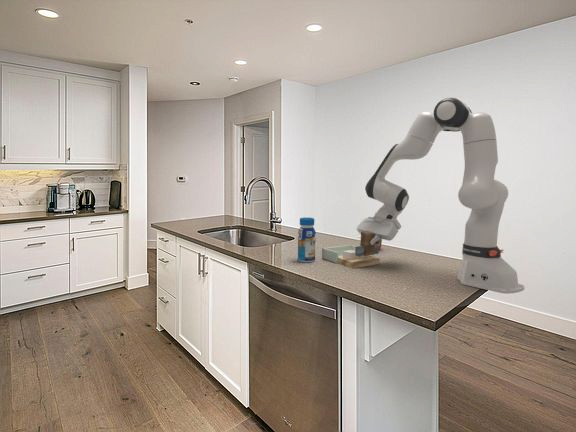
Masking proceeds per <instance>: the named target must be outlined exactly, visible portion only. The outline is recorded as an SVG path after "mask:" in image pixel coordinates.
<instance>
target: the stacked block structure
mask: <svg viewBox="0 0 576 432" xmlns="http://www.w3.org/2000/svg"><path fill="white" fill-rule="evenodd" d="M374 237H375V234H374V233H373V232H368V231H367V232H361V234H360V242H359V243H360V245H358V246H357V245H355V246H356V249H355V256H375V255H377V254H379V251H380V250H379V245H377V244H375V243H374V244H373V245H371V244H369V241H370V239H373V238H374Z"/></svg>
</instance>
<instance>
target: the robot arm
mask: <svg viewBox="0 0 576 432" xmlns="http://www.w3.org/2000/svg"><path fill="white" fill-rule="evenodd" d="M492 118H493V117H492V116H491V115H490V114H488V113H486V112H474V113H473V112H472V110H471V109H470V107H469V106H467V104H466V103H465V102H463V101H462V100H460V99H458V98H456V97H446V98H443V99H441V100H440V101H439V102H437V103H436V105H435V107H434V109H433V112H432V111H429V110H427V111H421V112H420V113H419V114H418V115H417V117H416V118H415V119H414V121H413V122H412V124H411V125H410V128H409V130H408V132H407V134H406V136H405V137H404V139H403V140H402V141H401V142H399V143H395V144H394V145H393V146H392V147H391V148H390V150H389V151H388V152H387V154H386V155H385V157H384V158H383V160H382V161H381V163H380V164H379V166H378V168H377V169H376V171H375V172H374V174H373V175H371V177H370V179H369V180H368V181H367V183H366V185H365V189H364V190H365V193H366V196H367V197H368V198H370V199H373V200H376V201H378V202H381V203H382V206H381V207H379V209H378V210H377V211H376V212H375V213H376V214H375V213H374V215H373V217H372V216H369V217H366V218H364V219H363V220H362V221H360V223H359V224H358V225H357V226H356V230H357V232H358V234H360V235H361V232H367V231H368V232H373V233H374V234H375V237H374V238H373V239H370V241H369V244H371V245H373V244H374V243H375V242H377V241H378V240H379V239H382V240H385V241H388V242H389V241H392V240H394V239H395V238H396V235H397V234H398V232H399V230H400V229H401V228H402V225H401V223H400V222H399V220H398V219H397V218H398V216H400V214H402V212H403V211H404V210H405V208H406V206H407V204H408V202H409V200H410V195H409V193H408V191H407V189H406V188H405V187H402V186H400V185H398V184H395V183H393V182H392V181H389V180H387V179H386V176H387V174H388V173H389V171H390V170H391V169H392V167H393V165H394V164H395V163H396V162H397V161H400V160H411V161H412V160H420V159H422V158H424V157H426V156H427V155H428V154H429V152H430V150H431V149H432V147H433V145H434V143H435V141H436V138H437V137H438V135H439V134H440V133H441V132H454V133H455V132H460V134H461V135H462V143H463V144H462V145H463V146H462V147H463V157H464V159H463V161H464V169H463V177H462V183H461V186H460V188H459V190H458V193H457V197H458V201H459V202H460V204H461V205H462V206H463V207H465V208H468V209H471V211H470V213H469V217H468V219H467V220H466V223H465V224H464V225H465V227H464V242H463V243H462V253H461V254H462V261H461V265H460V269H459V273H458V274H457V276H456V279H457V280H458V281H459V283H460V284H461V285H463V286H464V285H465V286H469V287H474V288H478V289H481V290H487V291H491V292H494V293H500V294H504V295H505V294H508V295H509V294H515V293H520V292H523V291H525V285H523V284H522V283H519V277H518V272H517V271H516V269H515V268H513V266H511V265H510V264H509V263H508V262H507V261H506V260H504V259H503V257H502V255H501V254H502V253H504V249H500V248H499V246H497V244H498V235H499V225H500V222H501V218H502V214H503V211H504V207H505V203H506V201H507V199H508V197H509V190H508V187H507V186H506V185H505V184H504V183H502V181H500V180H497V179H495V174H496V168H497V165H498V162H499V155H498V153H499V152H498V145H497V134H496V128H495V125H494V121H493V119H492Z"/></svg>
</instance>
